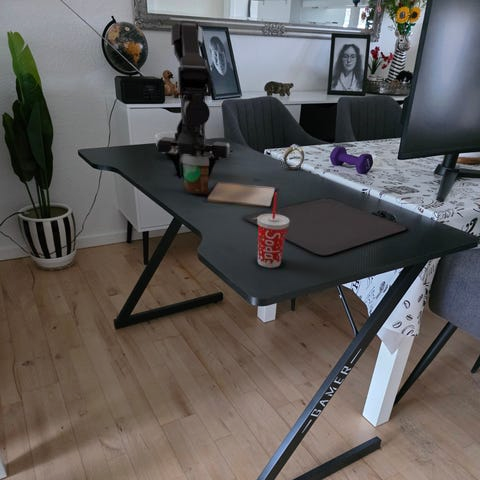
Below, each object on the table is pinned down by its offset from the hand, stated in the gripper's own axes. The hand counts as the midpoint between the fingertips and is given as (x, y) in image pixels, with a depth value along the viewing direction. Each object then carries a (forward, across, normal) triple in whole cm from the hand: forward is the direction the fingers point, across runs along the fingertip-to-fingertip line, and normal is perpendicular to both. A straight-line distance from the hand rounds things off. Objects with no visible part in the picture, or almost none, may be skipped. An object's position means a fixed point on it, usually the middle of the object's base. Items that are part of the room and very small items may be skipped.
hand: (193, 179), depth 123 cm
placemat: (+3, +14, +2) cm, 14 cm away
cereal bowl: (+4, -14, +38) cm, 41 cm away
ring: (+4, +26, +36) cm, 44 cm away
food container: (+3, 0, 0) cm, 3 cm away
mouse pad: (+3, +36, -14) cm, 39 cm away
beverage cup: (+4, +25, -40) cm, 47 cm away
